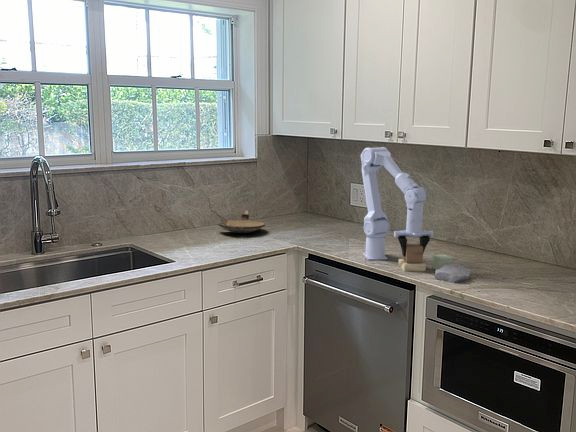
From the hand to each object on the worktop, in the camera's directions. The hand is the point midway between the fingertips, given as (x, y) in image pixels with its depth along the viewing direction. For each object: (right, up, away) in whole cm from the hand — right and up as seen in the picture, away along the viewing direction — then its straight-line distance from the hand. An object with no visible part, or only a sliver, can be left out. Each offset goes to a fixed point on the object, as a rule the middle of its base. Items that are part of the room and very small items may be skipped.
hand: (412, 255), depth 212 cm
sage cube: (+11, -5, 0) cm, 12 cm away
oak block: (0, -5, +1) cm, 5 cm away
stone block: (+12, -8, -11) cm, 18 cm away
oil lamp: (-68, +7, +61) cm, 91 cm away
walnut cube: (0, -2, 0) cm, 2 cm away
